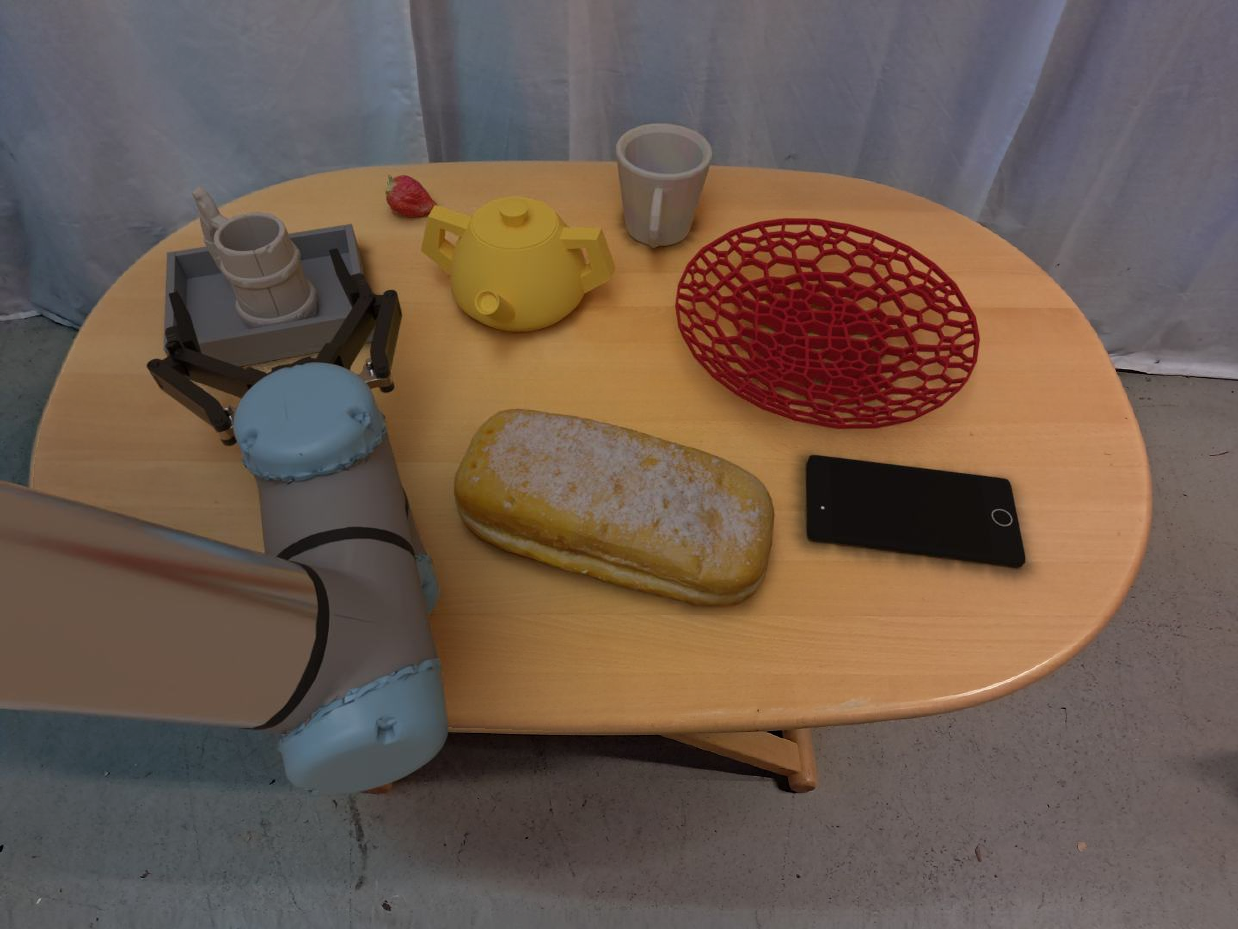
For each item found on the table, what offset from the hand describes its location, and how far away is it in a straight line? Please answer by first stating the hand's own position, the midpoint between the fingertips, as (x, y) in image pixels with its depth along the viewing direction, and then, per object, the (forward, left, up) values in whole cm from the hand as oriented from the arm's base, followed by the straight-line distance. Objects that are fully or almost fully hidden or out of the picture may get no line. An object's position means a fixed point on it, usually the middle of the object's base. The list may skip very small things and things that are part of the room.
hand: (260, 281), depth 71 cm
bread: (+25, -27, -10) cm, 38 cm away
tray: (-1, +8, -10) cm, 13 cm away
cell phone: (+50, -33, -10) cm, 61 cm away
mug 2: (+41, +9, -10) cm, 43 cm away
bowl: (+51, -12, -10) cm, 53 cm away
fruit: (+15, +21, -10) cm, 28 cm away
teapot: (+23, +2, -10) cm, 25 cm away
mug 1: (-2, +8, -9) cm, 12 cm away
